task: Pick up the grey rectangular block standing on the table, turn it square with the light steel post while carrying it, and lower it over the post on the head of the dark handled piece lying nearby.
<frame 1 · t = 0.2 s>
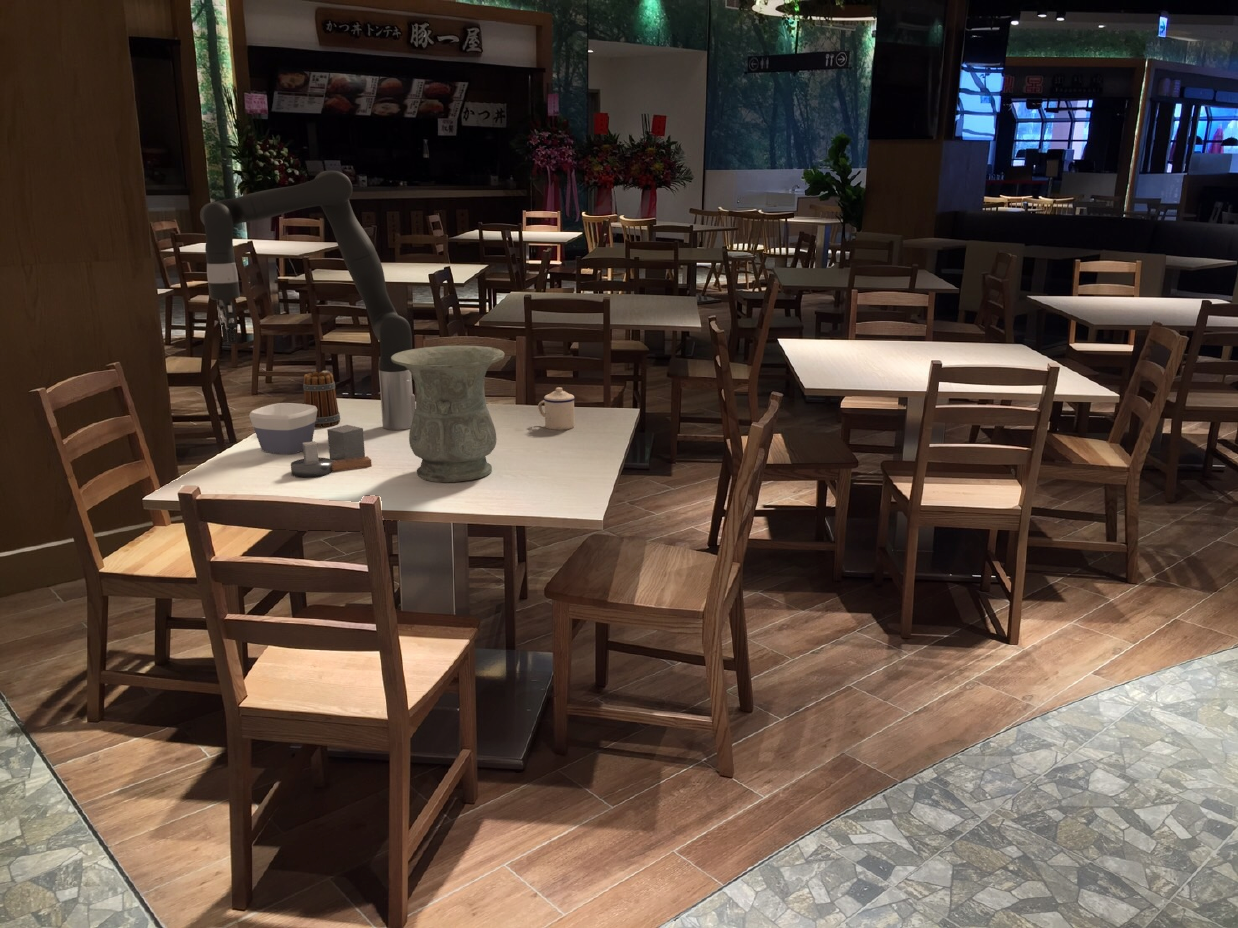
hand: (229, 341, 275), 29 cm above the table, tool pointing down, fingers open, 8 cm apart
dark handled piece: (312, 472, 257), on the table
bowl: (287, 449, 280), on the table
teacup with lid: (555, 426, 303), on the table
grey rectangular block: (347, 458, 270), on the table
vessel: (454, 473, 256), on the table
mug: (324, 422, 310), on the table
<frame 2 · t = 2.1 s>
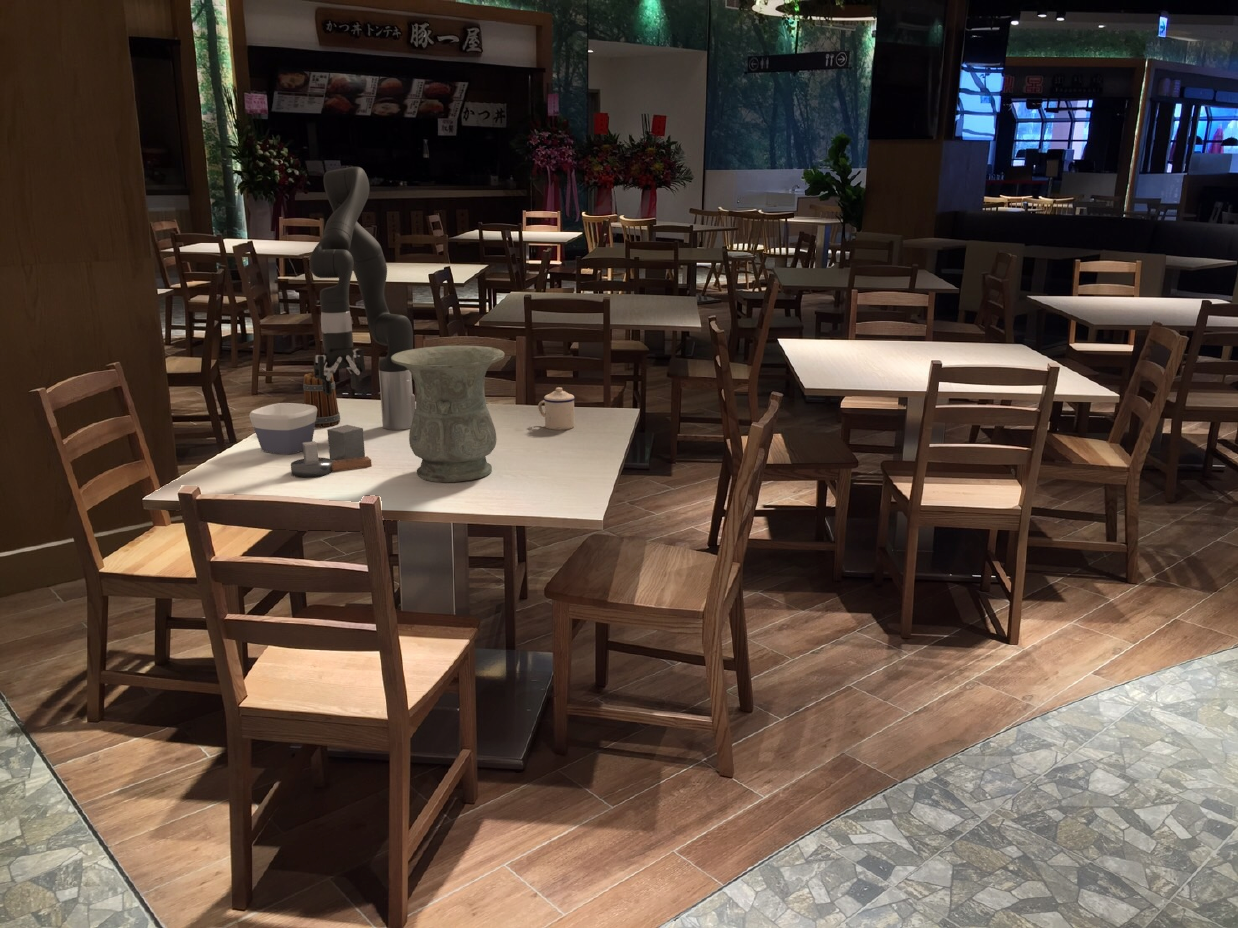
hand: (341, 391, 265), 18 cm above the table, tool pointing down, fingers open, 8 cm apart
nothing on the table moved.
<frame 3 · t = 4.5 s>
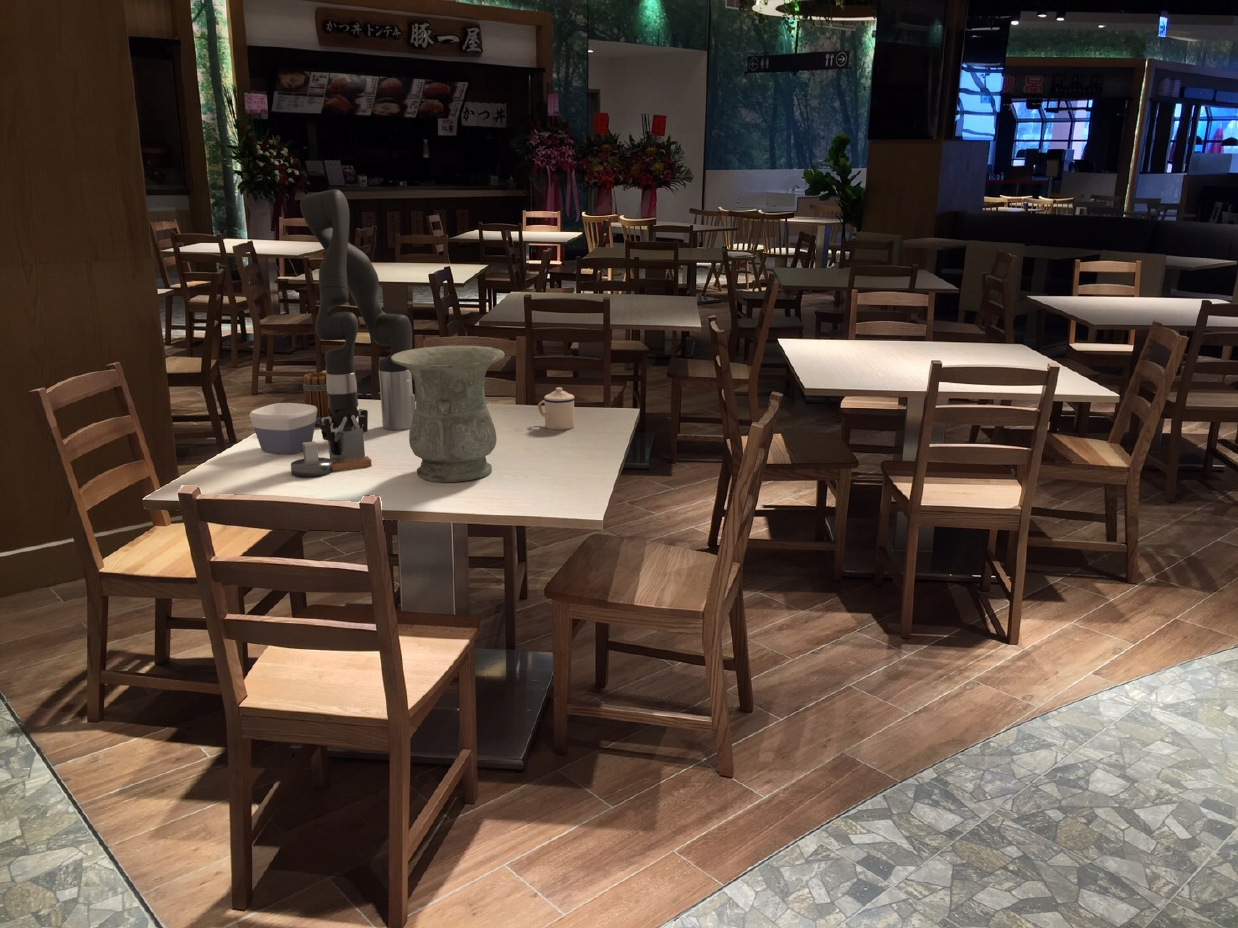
hand: (346, 452, 269), 2 cm above the table, tool pointing down, fingers closed on grey rectangular block, 6 cm apart
grey rectangular block: (347, 458, 270), on the table, touching gripper
everything else where it was.
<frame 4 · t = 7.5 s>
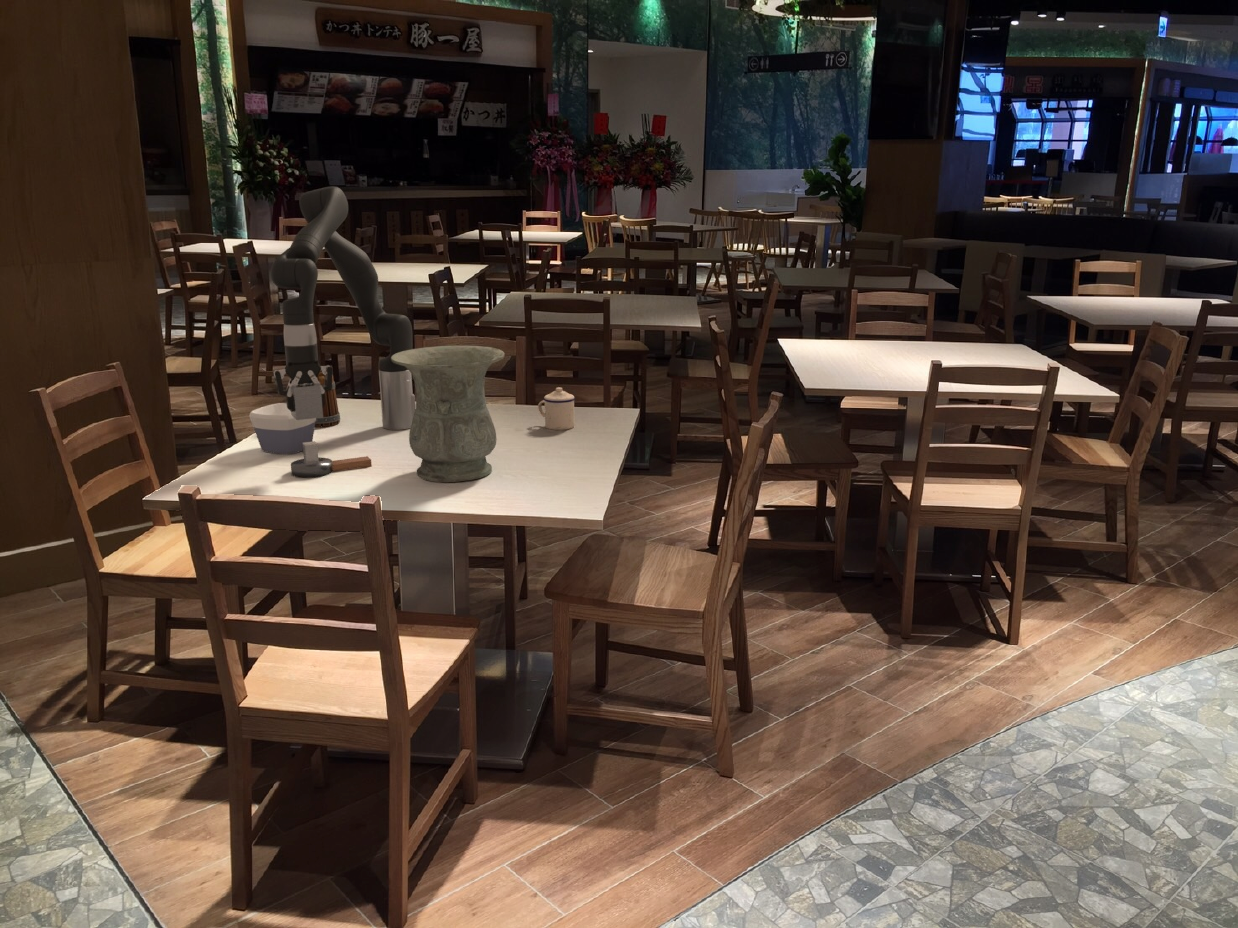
hand: (306, 409, 253), 16 cm above the table, tool pointing down, fingers closed on grey rectangular block, 6 cm apart
grey rectangular block: (307, 416, 253), point 14 cm above the table, touching gripper
everything else where it was.
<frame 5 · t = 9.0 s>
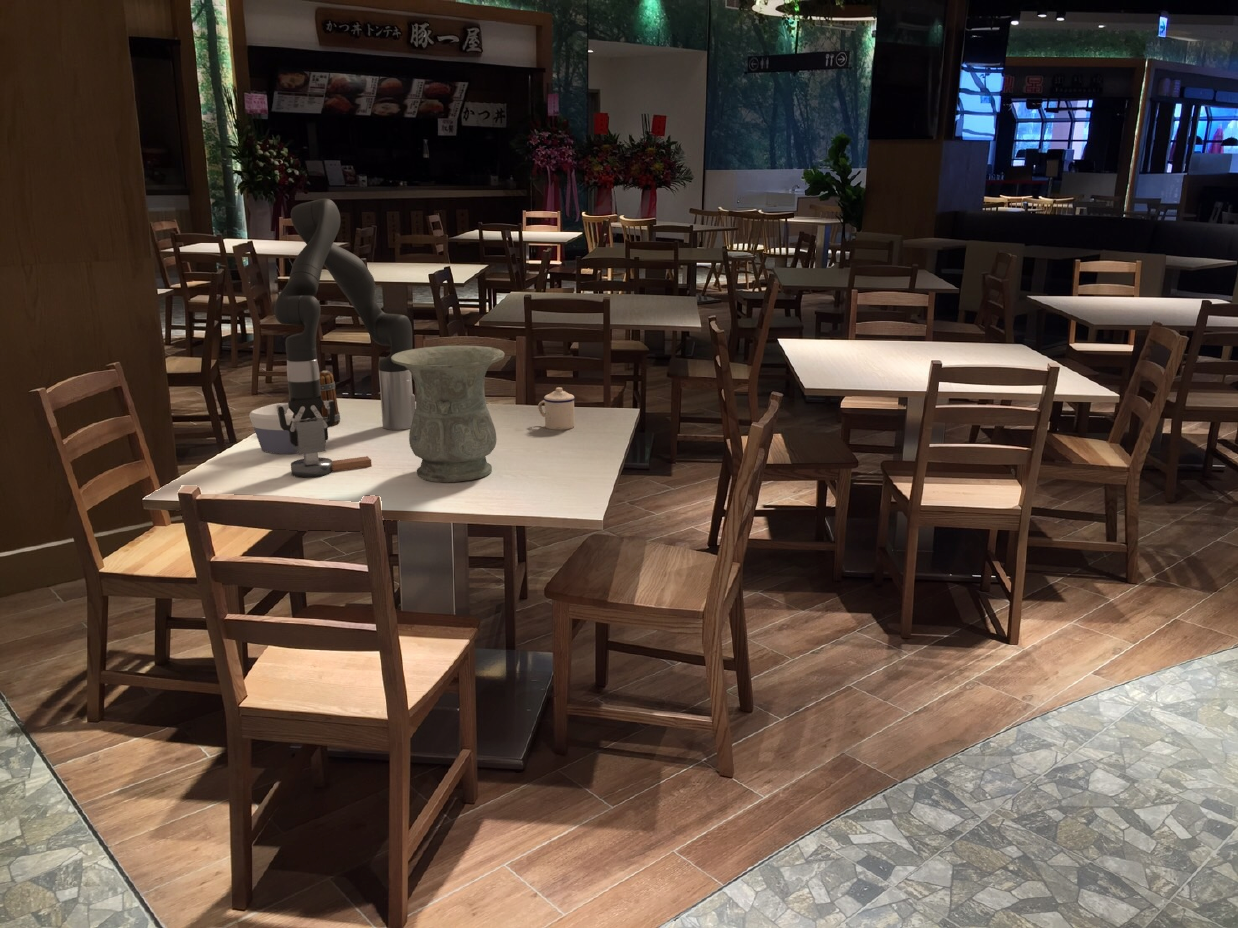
hand: (309, 443, 255), 7 cm above the table, tool pointing down, fingers closed on grey rectangular block, 6 cm apart
grey rectangular block: (310, 450, 255), point 6 cm above the table, touching gripper
everything else where it was.
when the fingers open (5 cm above the table, at t = 10.5 s): grey rectangular block stays where it is, resting on dark handled piece.
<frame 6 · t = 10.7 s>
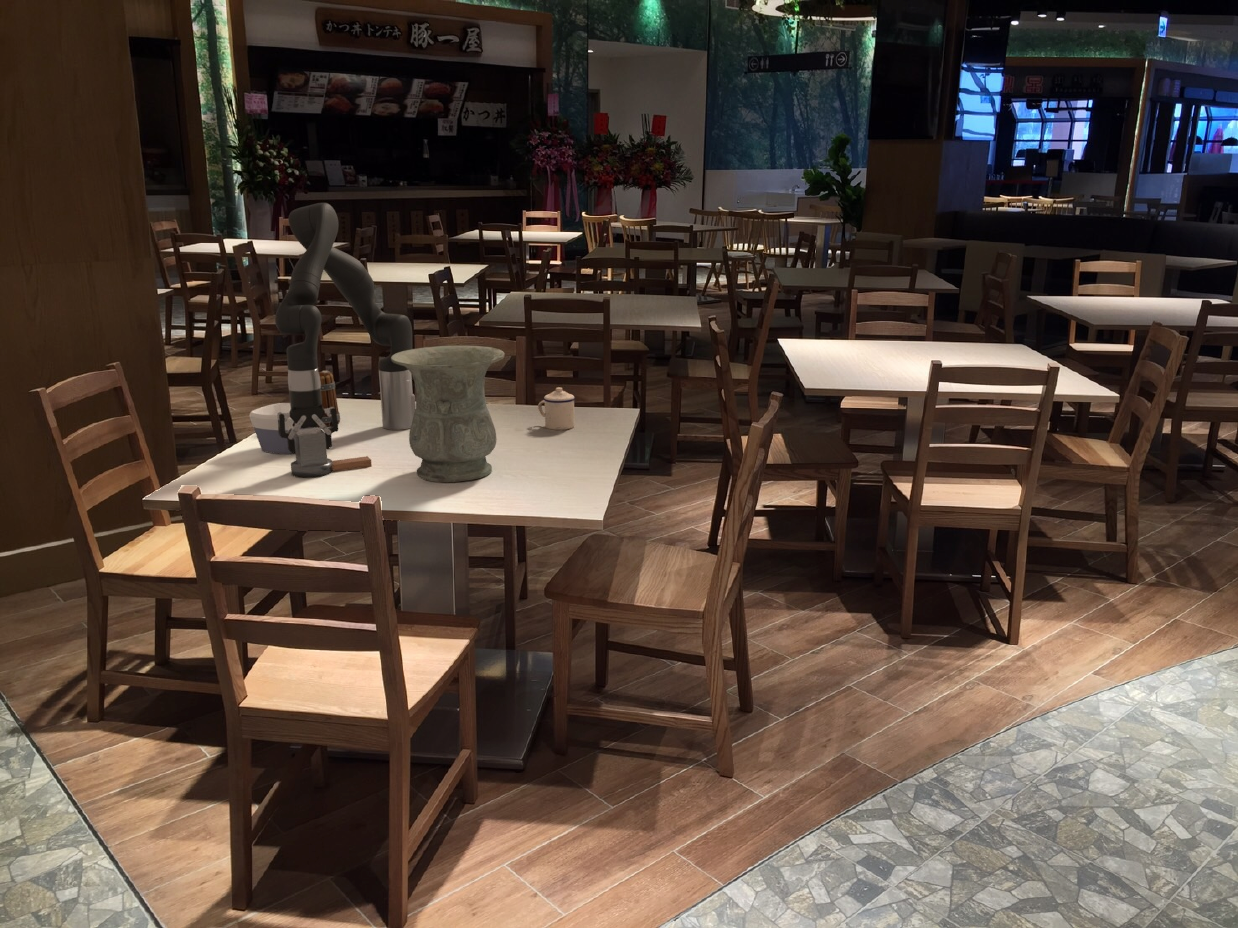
hand: (310, 450, 256), 6 cm above the table, tool pointing down, fingers open, 8 cm apart
grey rectangular block: (311, 462, 256), point 2 cm above the table, touching dark handled piece
everything else where it was.
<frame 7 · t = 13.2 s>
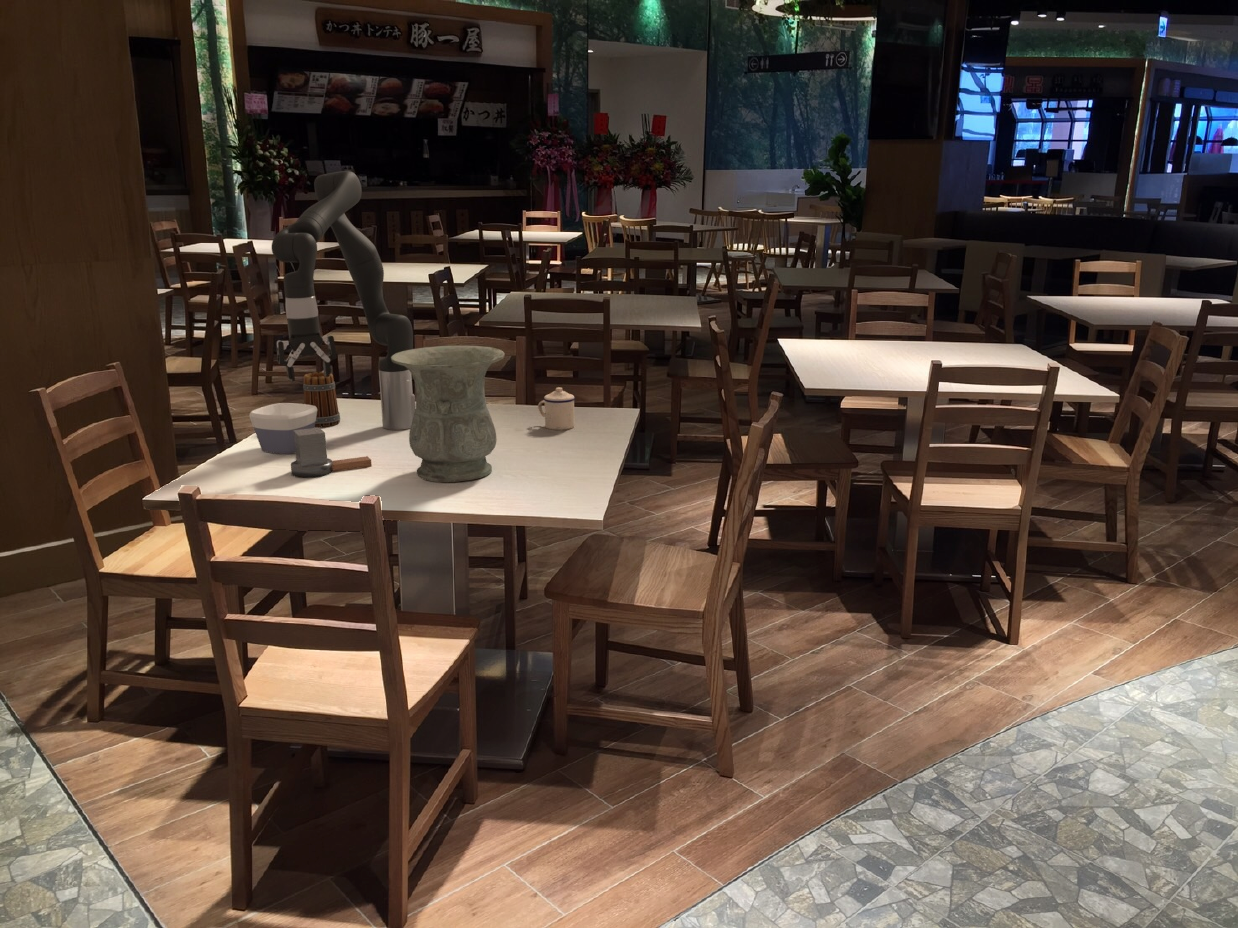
hand: (309, 378, 260), 22 cm above the table, tool pointing down, fingers open, 8 cm apart
nothing on the table moved.
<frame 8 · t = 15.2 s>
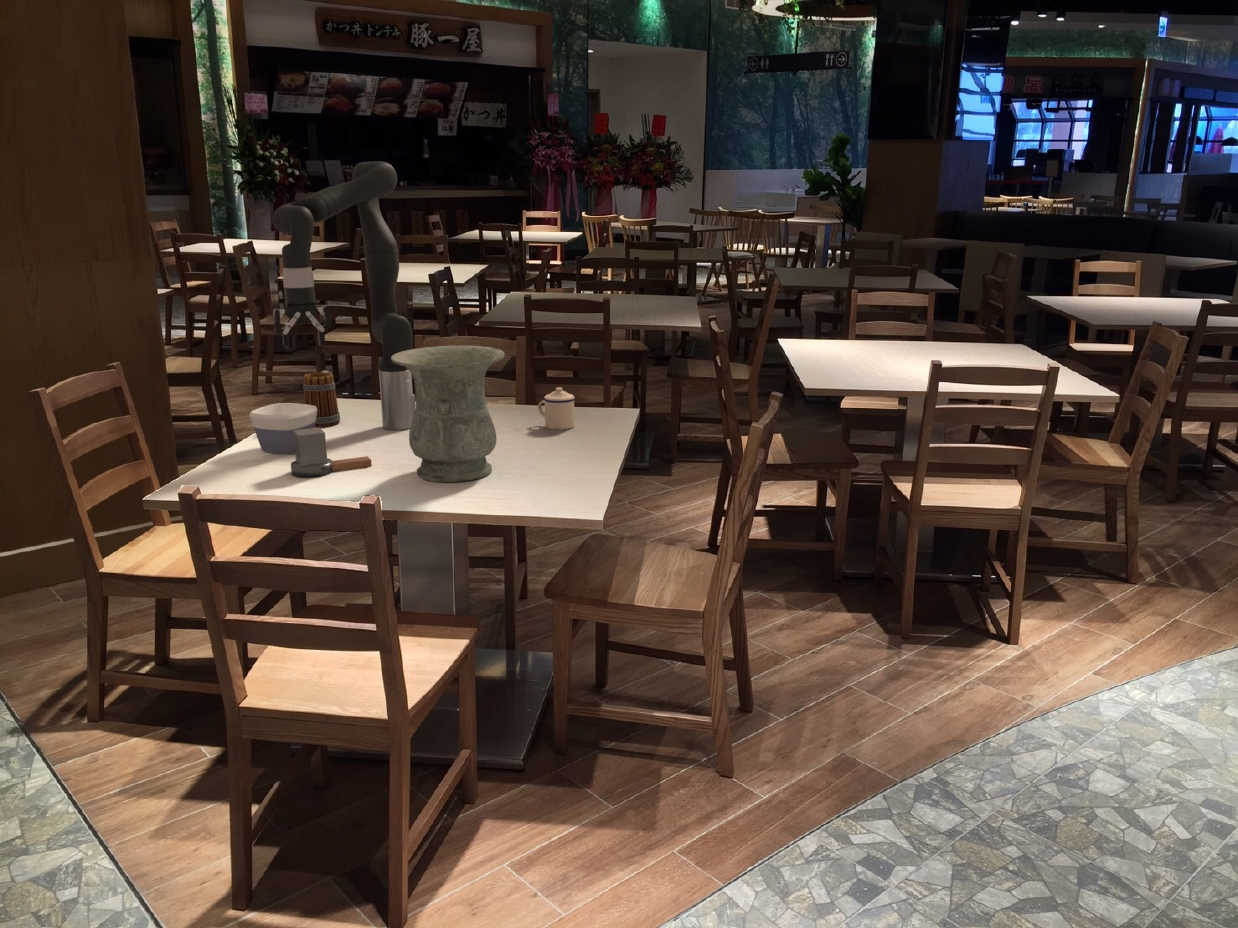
hand: (304, 347, 270), 28 cm above the table, tool pointing down, fingers open, 8 cm apart
nothing on the table moved.
at the end: grey rectangular block 0.1 cm off-centre on the dark handled piece, point 2.5 cm above the dark handled piece's base; grey rectangular block tilted 0°; the gripper is holding nothing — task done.
